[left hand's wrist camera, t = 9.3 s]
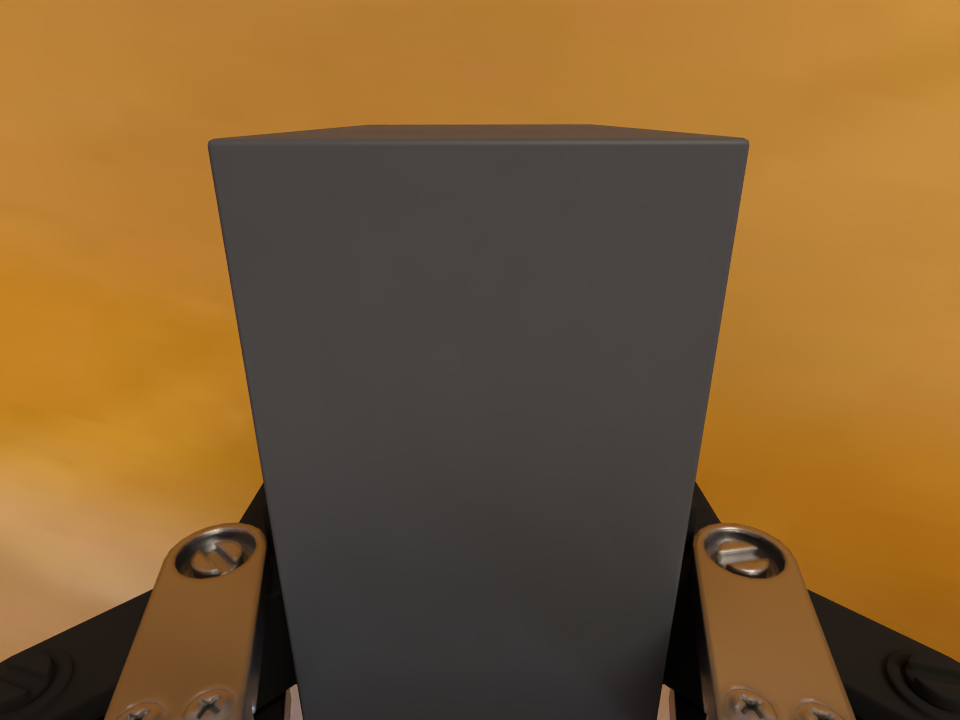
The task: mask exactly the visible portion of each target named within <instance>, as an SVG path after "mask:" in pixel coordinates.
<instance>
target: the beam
mask: <svg viewBox="0 0 960 720" xmlns="http://www.w3.org/2000/svg"><path fill="white" fill-rule="evenodd" d="M748 150H749V141H748V140H747V139H744V138H738V137H726V136H715V135H704V134H692V133H681V132H670V131H659V130H647V129H636V128H625V127H613V126H602V125H363V126H352V127H341V128H329V129H318V130H307V131H296V132H285V133H274V134H263V135H252V136H241V137H229V138H218V139H212V140H210V141H209V142H208V151H209V157H210V163H211V169H212V175H213V181H214V187H215V193H216V199H217V205H218V211H219V217H220V223H221V229H222V235H223V241H224V247H225V253H226V259H227V265H228V271H229V277H230V283H231V289H232V295H233V301H234V307H235V313H236V319H237V325H238V331H239V337H240V343H241V349H242V355H243V361H244V367H245V373H246V379H247V385H248V391H249V397H250V403H251V409H252V415H253V421H254V427H255V433H256V439H257V445H258V451H259V457H260V463H261V469H262V475H263V481H264V487H265V493H266V499H267V505H268V511H269V517H270V523H271V529H272V535H273V541H274V547H275V553H276V559H277V565H278V571H279V577H280V583H281V589H282V595H283V601H284V607H285V613H286V619H287V625H288V631H289V637H290V643H291V649H292V655H293V661H294V668H295V674H296V680H297V686H298V692H299V698H300V704H301V710H302V716H303V720H657V714H658V708H659V702H660V695H661V689H662V683H663V677H664V671H665V664H666V658H667V652H668V646H669V640H670V633H671V627H672V621H673V615H674V609H675V602H676V596H677V590H678V584H679V578H680V571H681V565H682V559H683V553H684V547H685V540H686V534H687V528H688V522H689V516H690V509H691V503H692V497H693V491H694V485H695V478H696V472H697V466H698V460H699V454H700V447H701V441H702V435H703V429H704V423H705V416H706V410H707V404H708V398H709V392H710V385H711V379H712V373H713V367H714V361H715V354H716V348H717V342H718V336H719V330H720V323H721V317H722V311H723V305H724V299H725V292H726V286H727V280H728V274H729V268H730V261H731V255H732V249H733V243H734V237H735V230H736V224H737V218H738V212H739V206H740V199H741V193H742V187H743V181H744V175H745V168H746V162H747V156H748Z"/></svg>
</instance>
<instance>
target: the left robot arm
mask: <svg viewBox="0 0 960 720" xmlns="http://www.w3.org/2000/svg"><path fill="white" fill-rule="evenodd" d="M295 684H297V680H296V674H295V668H294V661H293V655H292V649H291V643H290V637H289V631H288V625H287V619H286V613H285V607H284V601H283V595H282V589H281V583H280V577H279V571H278V565H277V559H276V553H275V547H274V541H273V535H272V529H271V523H270V517H269V511H268V505H267V499H266V493H265V487H264V483H263V484H262V486H261V488H260V489H259V491H258V492H257V494H256V496H255V497H254V499H253V501H252V502H251V504H250V505H249V507H248V509H247V510H246V512H245V514H244V515H243V517H242V519H241V520H240V522H239V523H225V524H219V525H215V526H210V527H207V528H204V529H202V530H199V531H197V532H194V533H192V534H191V535H189V536H187V537H186V538H184V539H182V540H181V541H180V542H178V543H177V544H176V545H175V546H174V547H173V548H172V549H171V550H170V551H169V553H168V554H167V556H166V558H165V559H164V562H163V564H162V567H161V569H160V572H159V575H158V577H157V580H156V583H155V585H154V588H153V589H152V590H150V591H148V592H146V593H144V594H142V595H139V596H137V597H135V598H133V599H131V600H129V601H127V602H125V603H123V604H121V605H118V606H116V607H114V608H112V609H110V610H108V611H106V612H104V613H102V614H100V615H98V616H95V617H93V618H91V619H89V620H87V621H85V622H83V623H81V624H79V625H77V626H74V627H72V628H70V629H68V630H66V631H64V632H62V633H60V634H58V635H56V636H53V637H51V638H49V639H47V640H45V641H43V642H41V643H39V644H37V645H35V646H32V647H30V648H28V649H26V650H24V651H22V652H20V653H18V654H16V655H14V656H12V657H10V658H8V659H6V660H4V661H3V662H1V663H0V720H290V710H291V695H290V687H292V686H293V685H295ZM662 684H665V685H667V686H668V687H669V688H670V695H669V710H670V720H960V663H959V662H957V661H955V660H954V659H952V658H950V657H948V656H946V655H944V654H942V653H940V652H938V651H936V650H933V649H931V648H929V647H927V646H925V645H923V644H921V643H919V642H917V641H915V640H913V639H910V638H908V637H906V636H904V635H902V634H900V633H898V632H896V631H894V630H892V629H889V628H887V627H885V626H883V625H881V624H879V623H877V622H875V621H873V620H871V619H868V618H866V617H864V616H862V615H860V614H858V613H856V612H854V611H852V610H850V609H847V608H845V607H843V606H841V605H839V604H837V603H835V602H833V601H831V600H829V599H827V598H824V597H822V596H820V595H818V594H816V593H814V592H812V591H810V590H808V589H807V588H806V585H805V583H804V580H803V577H802V575H801V572H800V569H799V567H798V564H797V562H796V559H795V558H794V556H793V554H792V553H791V551H790V550H789V549H788V548H787V547H786V546H785V545H784V544H783V543H782V542H780V541H779V540H778V539H776V538H774V537H773V536H771V535H769V534H768V533H766V532H763V531H761V530H758V529H756V528H753V527H750V526H745V525H741V524H735V523H721V522H720V521H719V519H718V517H717V516H716V514H715V513H714V511H713V509H712V508H711V506H710V504H709V503H708V501H707V500H706V498H705V496H704V495H703V493H702V491H701V490H700V488H699V486H698V485H697V483H696V482H695V485H694V491H693V497H692V503H691V509H690V516H689V522H688V528H687V534H686V540H685V547H684V553H683V559H682V565H681V571H680V578H679V584H678V590H677V596H676V602H675V609H674V615H673V621H672V627H671V633H670V640H669V646H668V652H667V658H666V664H665V671H664V677H663V683H662Z"/></svg>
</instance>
